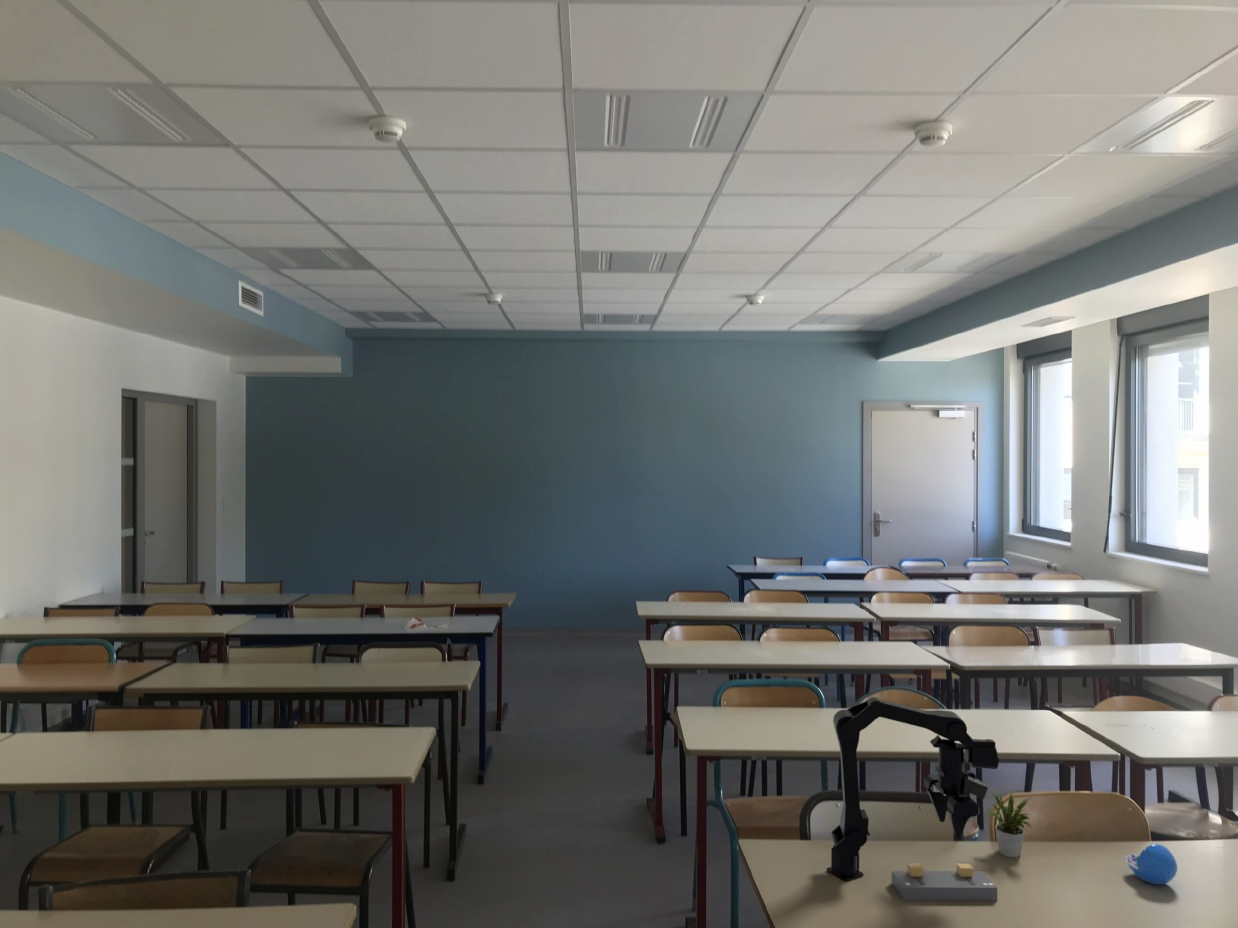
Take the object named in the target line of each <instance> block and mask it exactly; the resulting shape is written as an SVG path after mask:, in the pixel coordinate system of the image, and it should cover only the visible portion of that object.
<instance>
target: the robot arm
mask: <svg viewBox="0 0 1238 928" xmlns="http://www.w3.org/2000/svg"><path fill="white" fill-rule="evenodd" d="M879 718H883V719H886V720H887V719H888V720H890V721H895V722H899V723H902V724H906V725H911V726H914V727H919V728H924V729H926V730H928V731H930V732H932V733H933V734H936V736H935V737H934V738H932V739H930V741H929V743H930V744H931V746H932V747H933V748H936V749H937V748H938V765H935V772H936V773H938V774H937V775H936V774H927V775H926V776H925V777H924V779H923V786H924V787H925V789H926V792H927V794H928V796H929V798H930V799H929V800H930V801H931V803H932V806H933V808H934V810H935V813H936V817H937V818H938V820H939V822H940V823H945V820H946V816H947V814H948V817H949V818H948V819H949V821H950V824H951V828H952V831H953V834H954V836H955V838H956V839H961V838H962V835H963V833H964V830H965V827H966V825H967V822H968V821H969V819H971V818H974V817H976V816H980V805H979V804H978V803H977V802H976V801H975V800H974V799H972V798H971V797H970V796H969V794H971V795H974V796H975V797H978V798H979V799H981V800H985V798H986V795H987V792H988V789H989V786H988V785H986V784H985V783H984V782H983V781H981V780H980V779H979V778H977V777H976V774H975V773H974V772H972V771H970V770H966V771H965V768H964V767H965V764H964V762H966V764H969V766H970V767H971V768H975V769H985V770H986V769H987V770H997V769H999V760H1000V759H999V757H998V751H997V747H996V742H995V740H994V739H990V738H987V739H977V738H972V737H971V736H970V735H969V733H968V732H967V731H968V726H967V723H966V722H965V721H964V720H963V719H962V718H961V717H960V716H959V715H958V714H957V713H956V712H954V711H950V710H939V709H936V710H926V709H921V708H917V707H912V706H910V705H909V706H908V705H904V704H902V703H901V704H900V703H896V702H893V701H890V700H889V701H888V700H884V699H881V698H878V697H876V696H873V697H870V698H868V699H866V700H865V701H862V702H860V703H857V704H855V705H853V706H851V707H849V708H847V709H841V710H838V711H836V712H835V714H834V715H833V718H832V719H833V720H832V722H833V728H834V731H835V735H836V738H837V742H838V746H839V752H840V753H839V754H840V771H841V783H842V800H843V804H842V808H841V810H840V811H841V812H840V820H839V821H840V822H839V824H838V825H837V826H836V827H835V828H834V829H833V830H832V831H831V832H830V835H831V837H832V841H833V847H831V850H830V852H831V856H830V857H831V859H830V860H831V861H830V866H829V867H826V871H827V872H828V873H830V874H832V875H834V876H836V877H837V878H839V879H840V880H842V881H844V882H848V881H850V880H853V879H857V878H859V877H862V876H864V872H863V871H861V870H860V850H861V847H864V845H866V843H867V841H868V836H871V834H870V832H869V822H870V821H869V817H868V814H867V811H866V810H865V808H864V809H861V805H860V804H861V803H860V788H859V775H858V774H859V772H858V771H859V770H858V757H857V756H858V755H857V751H858V746H859V742H860V735H861V731H863V730H864V729H866V728H867V727H869V726H870V725H871V724H872V723H873V722H874V721H875V720H876V719H879ZM962 795H963V796H962ZM947 808H948V809H947Z"/></svg>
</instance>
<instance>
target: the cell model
mask: <svg viewBox="0 0 1238 928" xmlns="http://www.w3.org/2000/svg"><path fill="white" fill-rule="evenodd" d="M1123 858H1124V860H1125V861H1126V864H1127V865H1128V867H1129V869H1130V870H1131V871H1132V872H1133V874H1134V875H1136V876H1137V877H1138V878H1140V880H1143V881H1144V882H1147V883H1149V884H1153V885H1165V884H1168V883H1169V882H1172V881H1173V879H1174V878H1175V877H1176V875H1177V872H1178V863H1177V860H1176V859H1175V856H1174V855H1173V853H1172V852H1171V850H1170V849H1168V848H1167V847H1166V846H1164V845H1161V844H1158V843H1157V844H1151V845H1147V846H1146V847H1145V849H1142V851H1141V852H1140V854H1137V853H1136V854H1135V853H1134V854H1132V853H1131V854H1127V855H1125V856H1123Z"/></svg>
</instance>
